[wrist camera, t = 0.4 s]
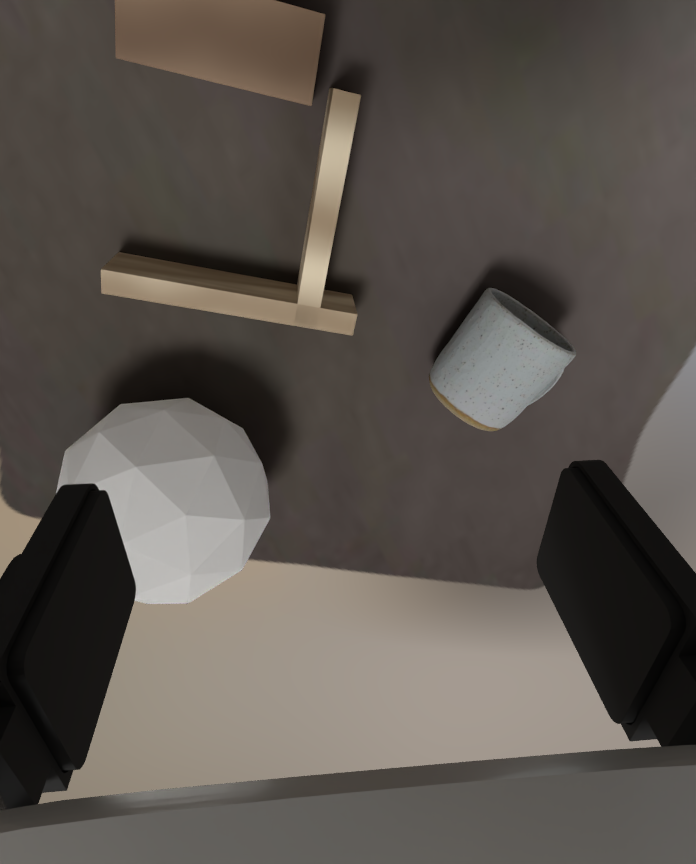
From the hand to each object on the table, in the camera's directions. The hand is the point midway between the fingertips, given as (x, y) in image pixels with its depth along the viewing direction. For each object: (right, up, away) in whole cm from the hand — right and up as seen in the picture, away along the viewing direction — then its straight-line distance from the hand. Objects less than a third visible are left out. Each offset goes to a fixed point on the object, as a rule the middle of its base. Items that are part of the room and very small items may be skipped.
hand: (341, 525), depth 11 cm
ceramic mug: (+12, +9, +31) cm, 34 cm away
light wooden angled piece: (-6, +17, +23) cm, 30 cm away
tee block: (-6, +26, +18) cm, 32 cm away
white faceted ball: (-13, +1, +33) cm, 36 cm away
